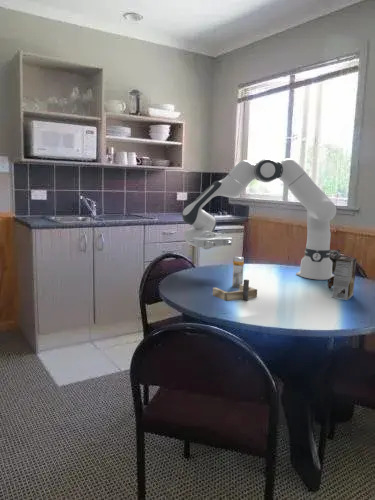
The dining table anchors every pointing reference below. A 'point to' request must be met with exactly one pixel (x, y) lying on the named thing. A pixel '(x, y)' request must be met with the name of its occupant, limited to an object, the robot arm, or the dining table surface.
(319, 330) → the dining table surface
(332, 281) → the pottery mug
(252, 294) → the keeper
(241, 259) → the silver metal cylinder
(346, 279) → the coffee box
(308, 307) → the dining table surface
